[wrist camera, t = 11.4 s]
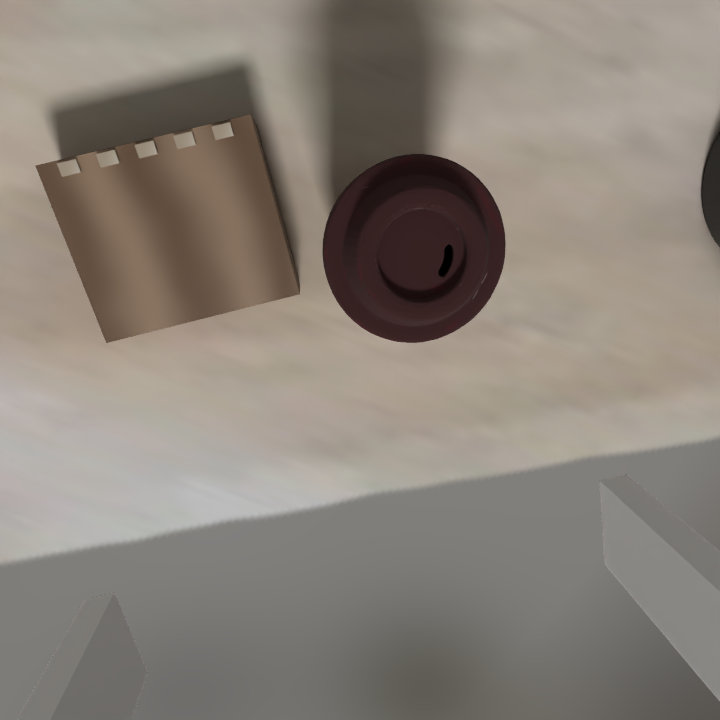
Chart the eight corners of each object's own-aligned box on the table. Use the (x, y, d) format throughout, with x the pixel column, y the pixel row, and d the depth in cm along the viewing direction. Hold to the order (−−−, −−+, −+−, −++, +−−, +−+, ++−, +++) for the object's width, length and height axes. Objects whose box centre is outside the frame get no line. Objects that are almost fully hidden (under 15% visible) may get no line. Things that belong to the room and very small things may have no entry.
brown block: (255, 124, 37) (250, 113, 33) (299, 286, 40) (299, 294, 36) (63, 170, 36) (33, 165, 32) (125, 330, 40) (105, 343, 36)
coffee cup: (289, 236, 39) (282, 252, 25) (384, 142, 38) (433, 102, 24) (376, 326, 42) (414, 387, 28) (466, 241, 41) (555, 259, 27)
